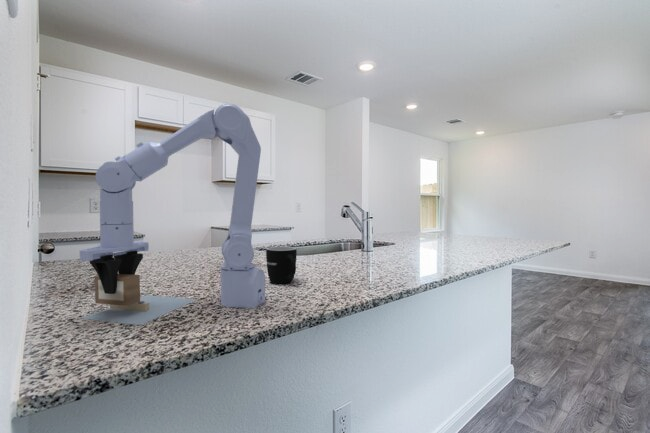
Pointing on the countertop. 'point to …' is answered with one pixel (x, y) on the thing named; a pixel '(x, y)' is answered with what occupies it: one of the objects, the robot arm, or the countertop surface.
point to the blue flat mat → (140, 310)
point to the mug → (281, 264)
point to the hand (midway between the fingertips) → (118, 291)
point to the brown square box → (119, 291)
